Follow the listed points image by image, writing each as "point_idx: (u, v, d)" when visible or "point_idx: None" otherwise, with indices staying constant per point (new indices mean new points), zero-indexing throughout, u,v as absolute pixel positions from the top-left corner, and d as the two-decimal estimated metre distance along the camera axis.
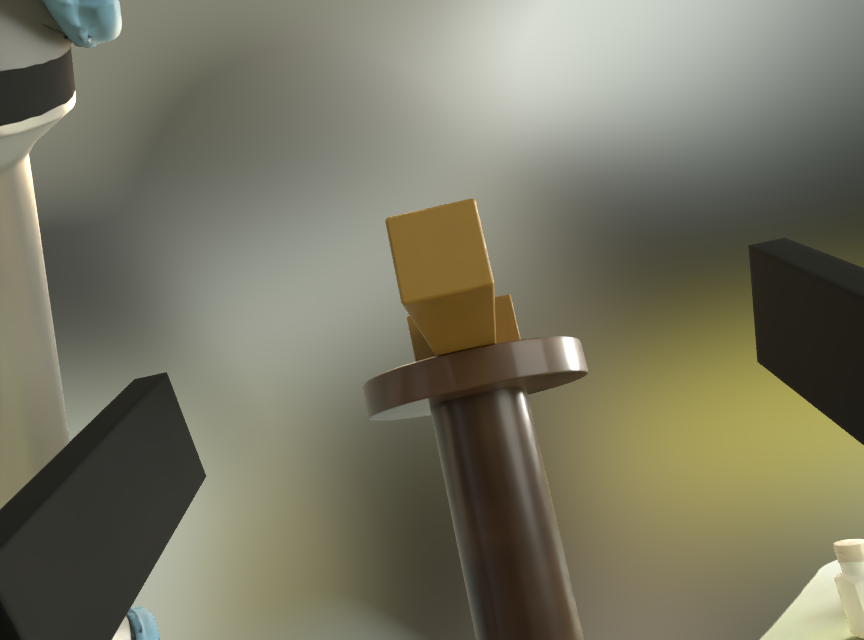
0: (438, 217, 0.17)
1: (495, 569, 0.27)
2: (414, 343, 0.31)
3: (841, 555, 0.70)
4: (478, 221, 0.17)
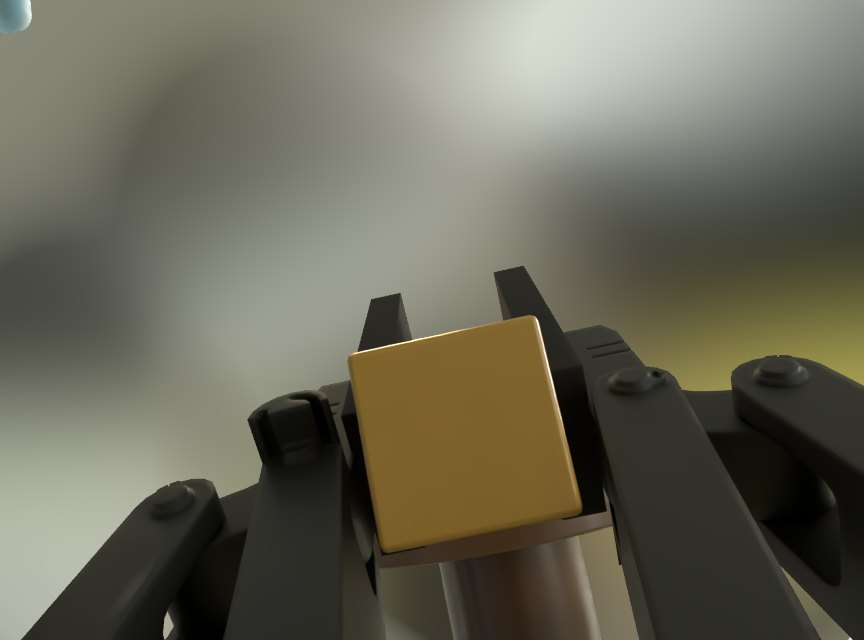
0: (459, 357, 0.08)
1: None
2: None
3: None
4: (545, 367, 0.08)
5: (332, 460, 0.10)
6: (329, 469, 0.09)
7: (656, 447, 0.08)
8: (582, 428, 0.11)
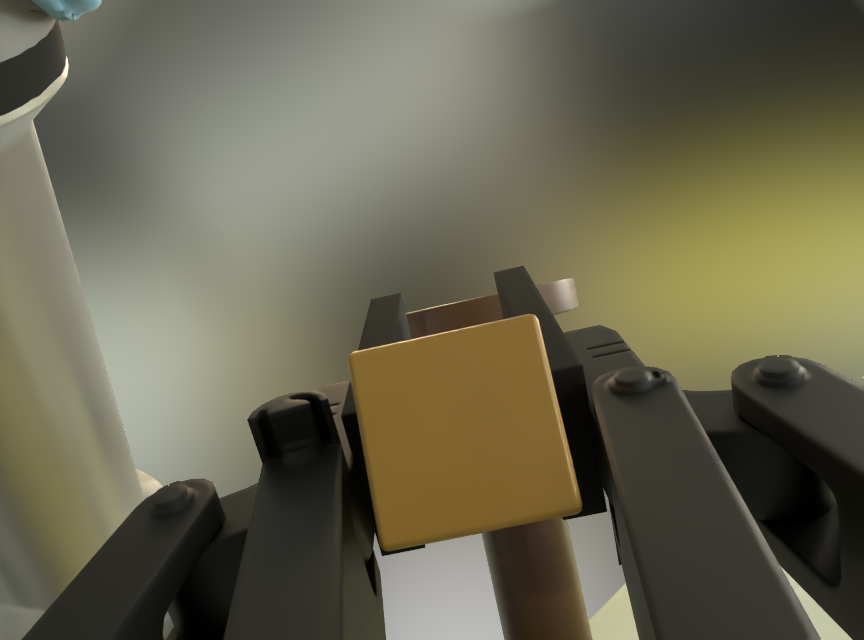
0: (459, 355, 0.08)
1: None
2: None
3: None
4: (545, 365, 0.08)
5: (332, 460, 0.10)
6: (329, 469, 0.09)
7: (656, 447, 0.08)
8: (582, 428, 0.11)
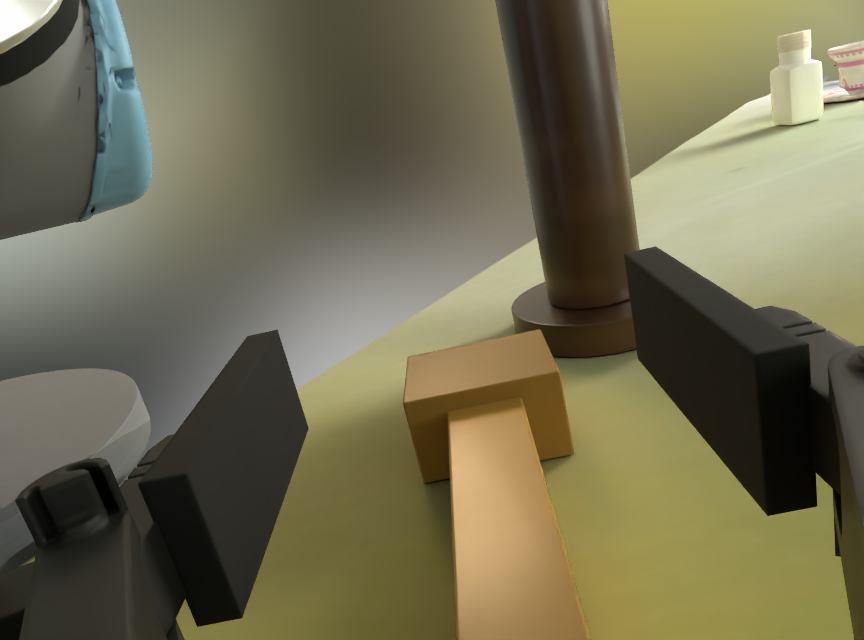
0: None
1: None
2: (415, 439, 0.21)
3: (783, 45, 0.72)
4: None
5: (119, 528, 0.09)
6: (116, 538, 0.09)
7: None
8: (801, 414, 0.10)
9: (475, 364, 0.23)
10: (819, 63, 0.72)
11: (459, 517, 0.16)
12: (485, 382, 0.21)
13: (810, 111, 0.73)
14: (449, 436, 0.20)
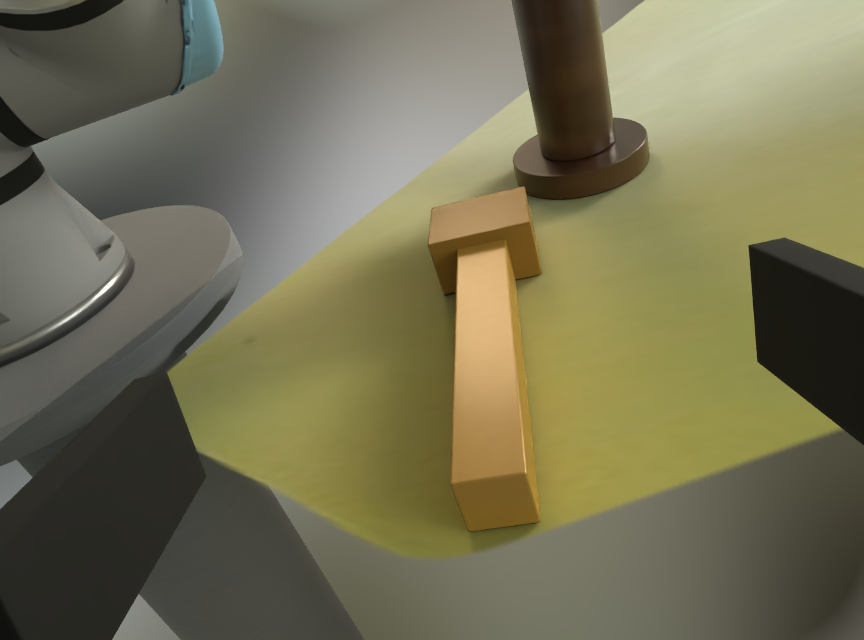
0: (495, 485, 0.20)
1: None
2: (437, 267, 0.33)
3: None
4: (529, 486, 0.20)
5: None
6: None
7: None
8: None
9: (476, 215, 0.33)
10: None
11: (459, 316, 0.28)
12: (481, 230, 0.32)
13: None
14: (457, 266, 0.31)
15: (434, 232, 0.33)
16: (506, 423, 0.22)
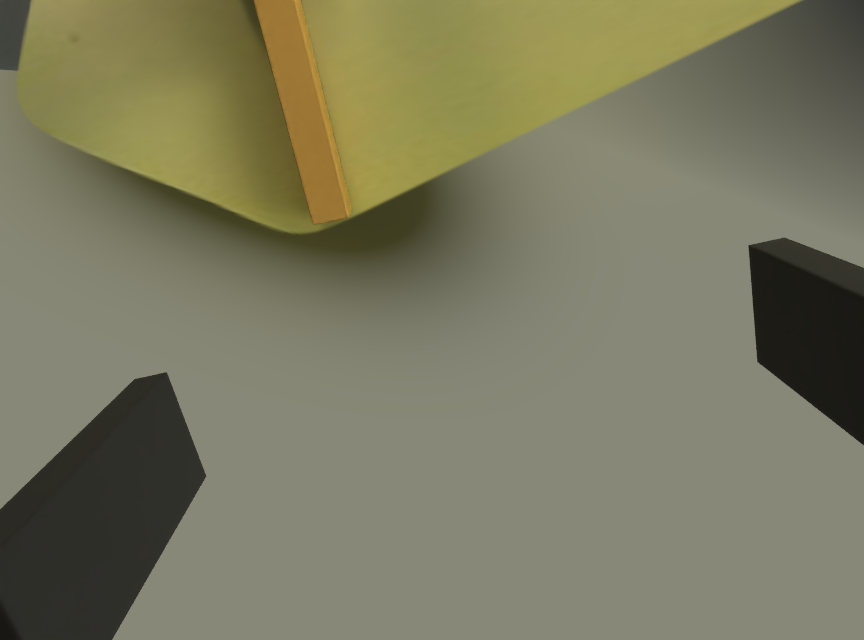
0: None
1: None
2: None
3: None
4: (349, 215, 0.44)
5: None
6: None
7: None
8: None
9: None
10: None
11: (278, 82, 0.41)
12: None
13: None
14: (257, 11, 0.39)
15: None
16: (332, 185, 0.43)
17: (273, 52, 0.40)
